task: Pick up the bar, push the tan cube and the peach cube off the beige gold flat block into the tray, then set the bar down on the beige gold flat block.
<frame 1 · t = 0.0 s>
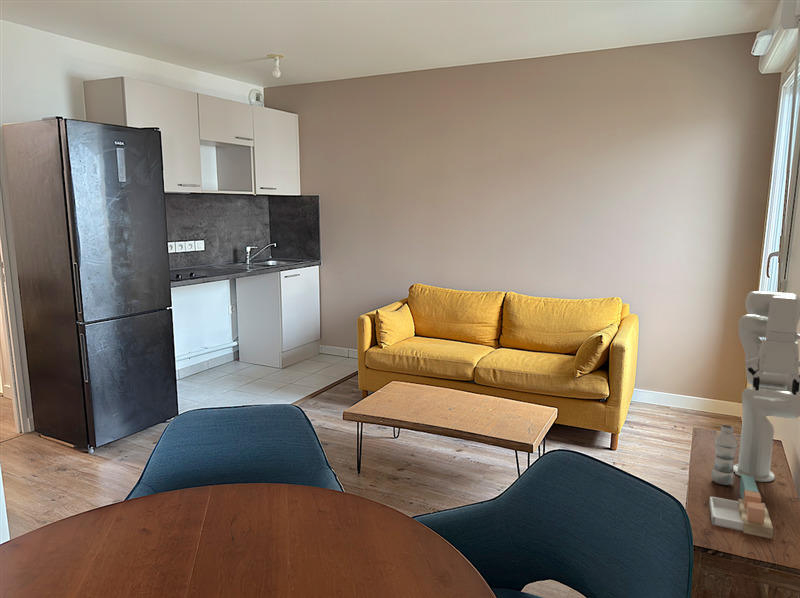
hand: (774, 391, 174), 37 cm above the table, tool pointing down, fingers open, 9 cm apart
bar: (747, 500, 182), on the table
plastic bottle: (722, 483, 194), on the table
tan cube: (751, 506, 172), point 3 cm above the table, touching beige gold flat block
tray: (725, 516, 172), on the table
beige gold flat block: (753, 522, 169), on the table
peach cube: (754, 518, 165), point 3 cm above the table, touching beige gold flat block
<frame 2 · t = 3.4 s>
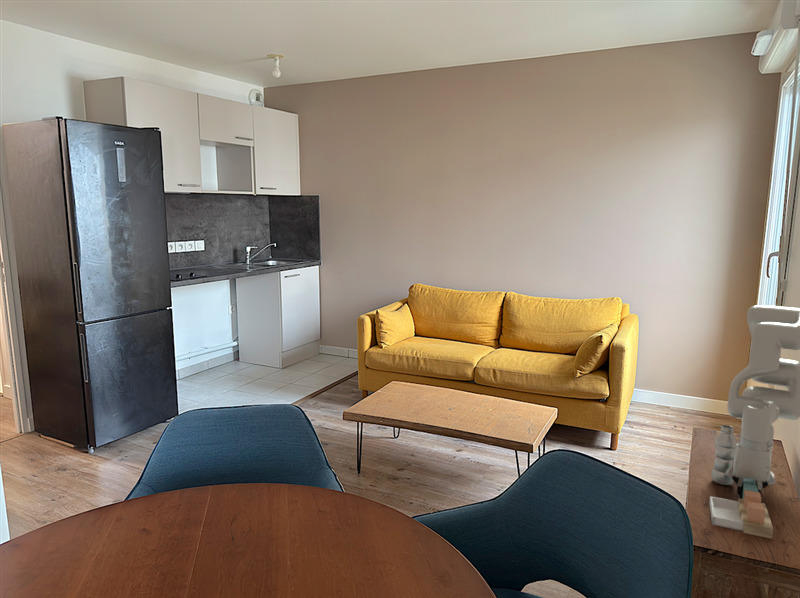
hand: (747, 497, 182), 1 cm above the table, tool pointing down, fingers closed on bar, 3 cm apart
bar: (747, 500, 182), on the table, touching gripper
everything else where it was.
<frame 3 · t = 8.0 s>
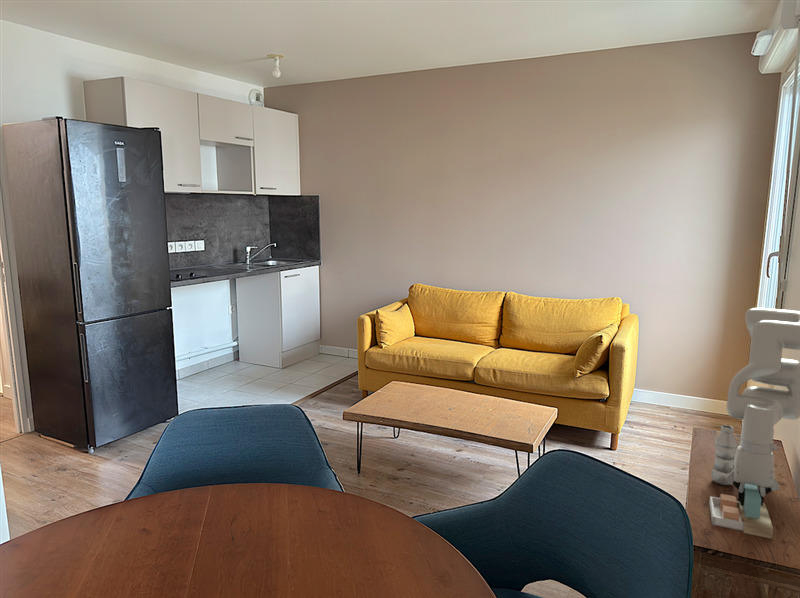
hand: (749, 504, 169), 5 cm above the table, tool pointing down, fingers closed on bar, 3 cm apart
bar: (749, 507, 169), point 4 cm above the table, touching gripper
tan cube: (735, 505, 174), point 2 cm above the table, tilted 90°, touching tray
peach cube: (738, 517, 166), point 2 cm above the table, tilted 90°, touching tray
everything else where it was.
when the fingers open (5 cm above the table, at t = 9.6 s): bar drops 1 cm, resting on beige gold flat block.
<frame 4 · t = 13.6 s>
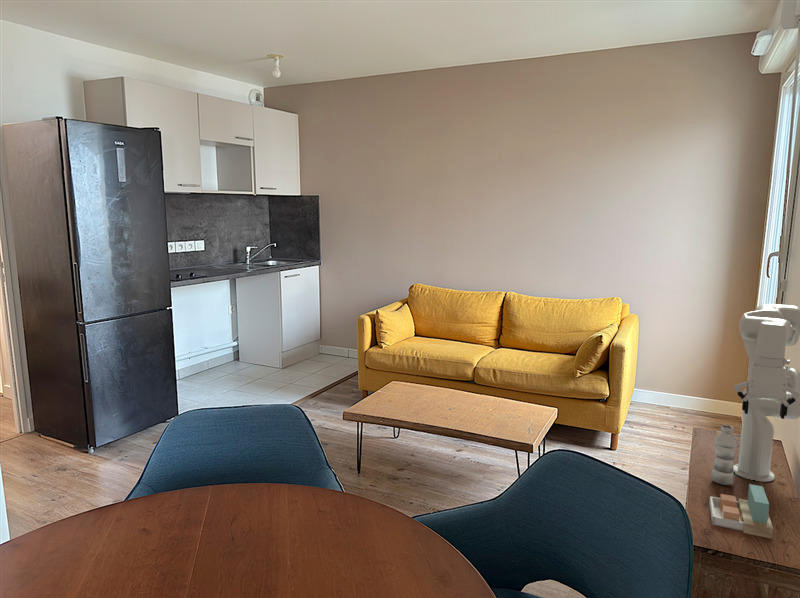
hand: (763, 415, 178), 28 cm above the table, tool pointing down, fingers open, 9 cm apart
bar: (756, 513, 168), point 3 cm above the table, touching beige gold flat block
everything else where it was.
at the end: tan cube inside the target area on the tray (4.8 cm from its centre), point 2.4 cm above the tray's base; peach cube inside the target area on the tray (5.0 cm from its centre), point 2.4 cm above the tray's base; bar inside the target area on the beige gold flat block (0.5 cm from its centre), point 3.0 cm above the beige gold flat block's base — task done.
